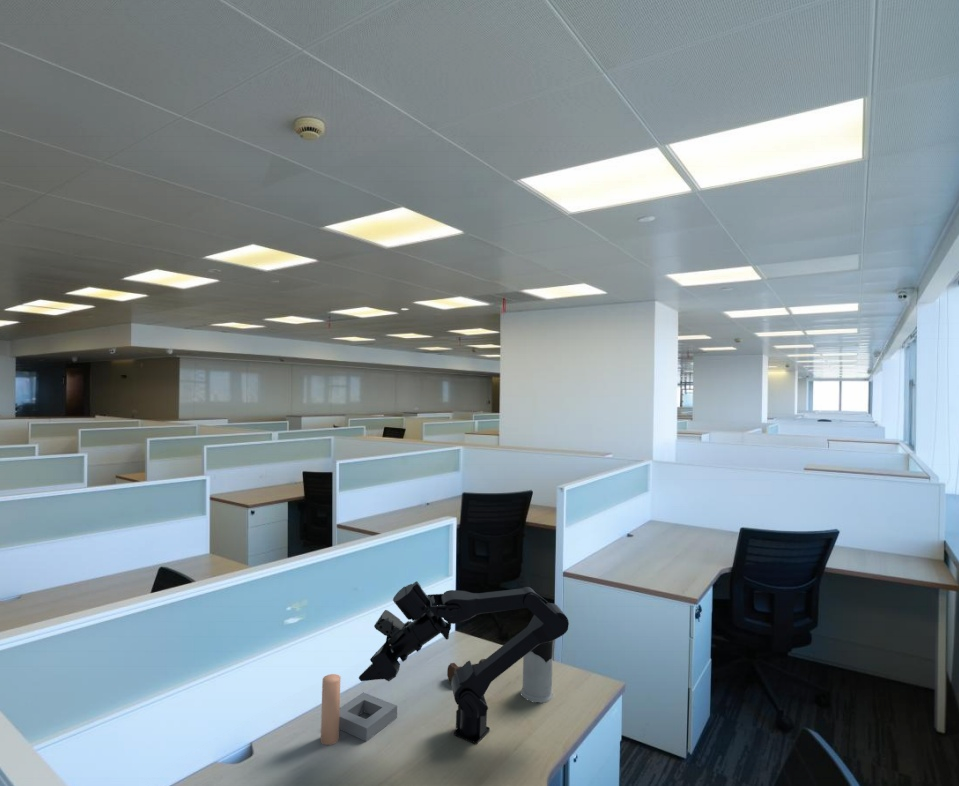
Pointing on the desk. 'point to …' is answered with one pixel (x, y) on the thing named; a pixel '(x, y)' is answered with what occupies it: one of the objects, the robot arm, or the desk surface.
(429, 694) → the desk surface
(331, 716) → the peg
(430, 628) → the robot arm
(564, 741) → the desk surface
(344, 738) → the desk surface
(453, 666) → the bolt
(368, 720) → the socket block
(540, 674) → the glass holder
